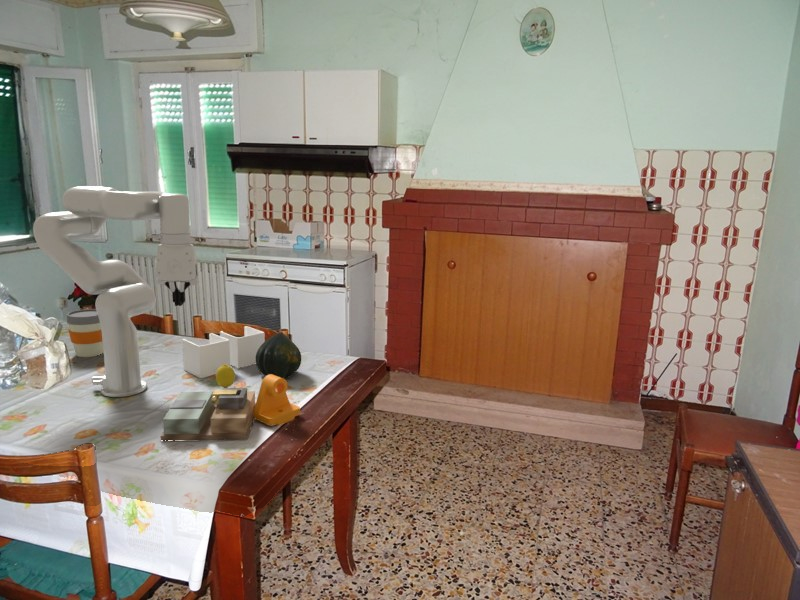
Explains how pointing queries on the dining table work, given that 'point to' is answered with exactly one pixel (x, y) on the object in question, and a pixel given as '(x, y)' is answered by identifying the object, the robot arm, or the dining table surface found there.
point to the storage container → (222, 352)
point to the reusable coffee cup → (85, 332)
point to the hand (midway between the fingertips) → (179, 304)
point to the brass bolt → (222, 393)
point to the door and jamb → (210, 416)
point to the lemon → (225, 376)
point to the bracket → (274, 402)
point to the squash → (278, 356)
